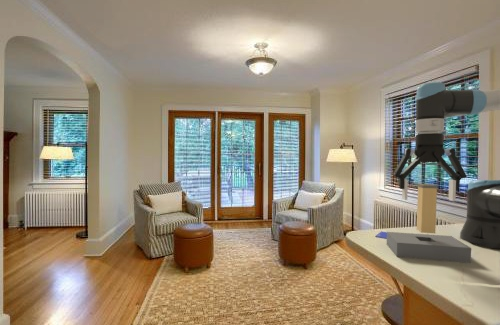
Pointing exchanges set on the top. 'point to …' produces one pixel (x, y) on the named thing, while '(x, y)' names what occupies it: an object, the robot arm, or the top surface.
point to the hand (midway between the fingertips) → (427, 199)
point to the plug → (426, 208)
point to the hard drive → (382, 235)
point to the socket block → (428, 247)
